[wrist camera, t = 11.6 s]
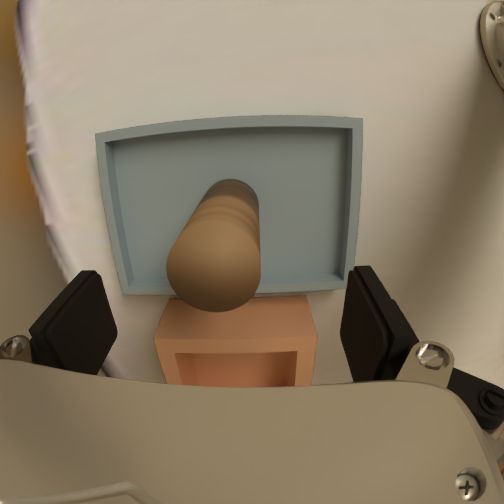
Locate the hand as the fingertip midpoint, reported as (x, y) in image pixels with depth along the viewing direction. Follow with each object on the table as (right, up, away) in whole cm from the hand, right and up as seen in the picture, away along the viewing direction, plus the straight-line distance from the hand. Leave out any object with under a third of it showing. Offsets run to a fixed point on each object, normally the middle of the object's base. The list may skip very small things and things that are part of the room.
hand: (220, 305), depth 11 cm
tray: (-1, +6, +14) cm, 15 cm away
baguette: (-1, +5, +13) cm, 14 cm away
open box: (0, -8, +20) cm, 22 cm away
